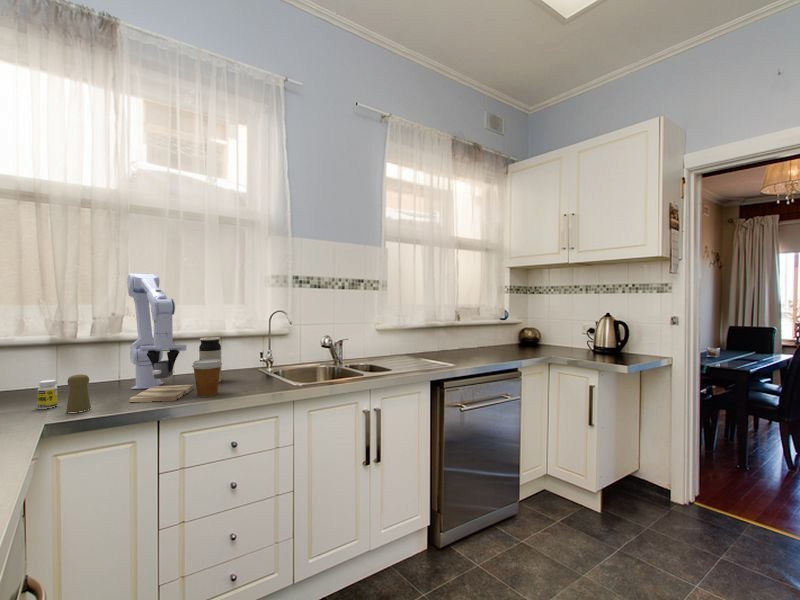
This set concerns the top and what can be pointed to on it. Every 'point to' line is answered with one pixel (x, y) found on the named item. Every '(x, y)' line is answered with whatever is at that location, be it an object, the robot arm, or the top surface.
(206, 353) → the travel mug
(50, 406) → the supplement bottle
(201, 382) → the disposable coffee cup
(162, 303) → the robot arm
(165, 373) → the connector
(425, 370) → the top surface
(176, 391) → the wooden board
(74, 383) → the cork
